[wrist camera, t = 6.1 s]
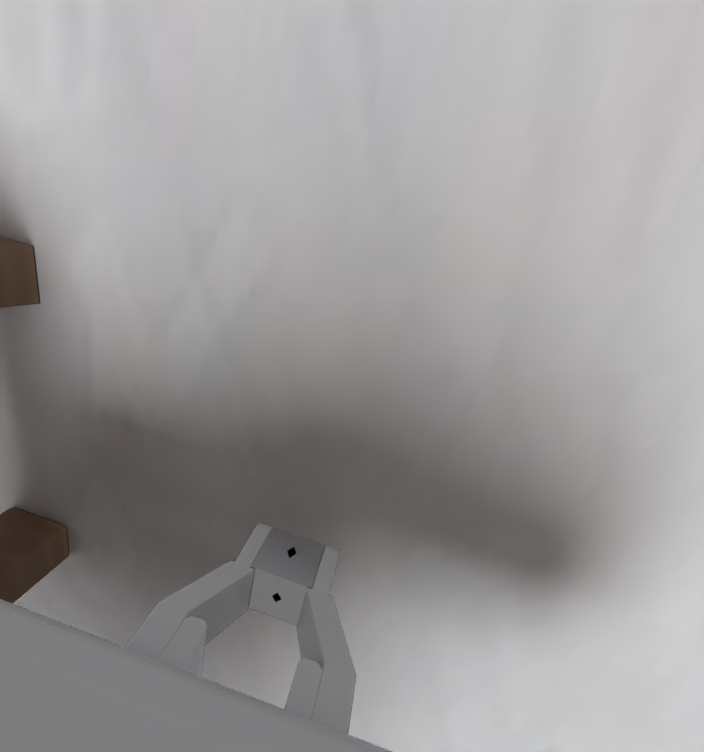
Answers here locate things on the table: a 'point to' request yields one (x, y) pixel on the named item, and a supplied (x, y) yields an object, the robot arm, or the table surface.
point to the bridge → (13, 527)
